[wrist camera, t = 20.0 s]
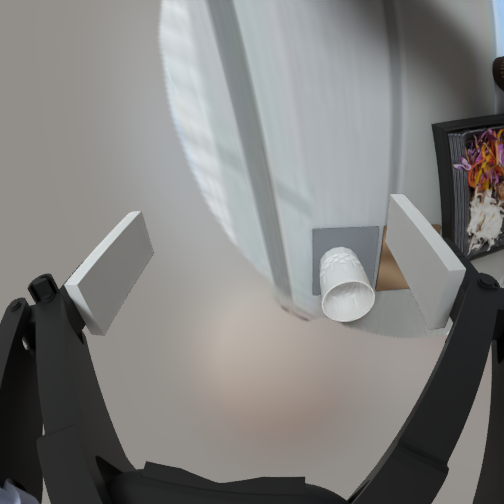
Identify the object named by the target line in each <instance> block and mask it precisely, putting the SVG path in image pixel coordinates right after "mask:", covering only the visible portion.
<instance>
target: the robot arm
mask: <svg viewBox="0 0 504 504" xmlns="http://www.w3.org/2000/svg"><path fill="white" fill-rule="evenodd" d="M385 242H386V244H387V246H388V248H389V249H390V251H391V253H392V255H393V257H394V259H395V261H396V262H397V264H398V266H399V268H400V270H401V272H402V274H403V276H404V278H405V280H406V282H407V284H408V286H409V288H410V290H411V292H412V294H413V296H414V298H415V301H416V303H417V305H418V307H419V309H420V311H421V314H422V316H423V318H424V320H425V323H426V325H427V327H428V329H429V330H433V329H439V328H445V326H446V324H447V321H448V319H449V316H450V317H451V319H452V321H453V326H452V328H451V330H450V332H449V335H448V337H447V339H446V341H445V345H444V347H443V350H442V352H441V354H440V357H439V359H438V361H437V363H436V365H435V367H434V369H433V371H432V373H431V376H430V378H429V380H428V382H427V384H426V385H425V387H424V389H423V391H422V393H421V395H420V397H419V399H418V400H417V402H416V404H415V406H414V408H413V409H412V411H411V413H410V415H409V416H408V418H407V420H406V422H405V423H404V425H403V426H402V428H401V430H400V431H399V433H398V434H397V436H396V437H395V439H394V440H393V442H392V443H391V445H390V446H389V448H388V449H387V451H386V452H385V454H384V455H383V456H382V458H381V459H380V461H379V462H378V463H377V465H376V466H375V467H374V469H373V470H372V471H371V473H370V474H369V475H368V476H367V477H366V479H365V480H364V481H363V482H362V483H361V485H360V486H359V487H358V488H357V489H356V491H355V492H354V493H353V494H352V495H351V496H350V498H349V499H348V500H347V501H346V500H345V499H344V498H342V497H341V496H339V495H338V494H336V493H334V492H332V491H330V490H327V489H325V488H322V487H319V486H316V485H311V484H306V483H305V477H260V478H254V479H248V480H242V481H235V482H227V483H217V482H213V481H211V480H208V479H205V478H203V477H200V476H198V475H195V474H193V473H190V472H188V471H186V470H183V469H181V468H176V467H170V466H165V465H161V464H156V463H152V462H147V461H146V463H145V467H144V469H137V470H136V469H135V468H134V467H133V465H132V464H131V463H130V462H129V460H128V459H127V457H126V455H125V453H124V451H123V448H122V446H121V444H120V441H119V439H118V437H117V434H116V432H115V429H114V427H113V424H112V421H111V419H110V416H109V413H108V411H107V408H106V405H105V402H104V399H103V396H102V393H101V390H100V387H99V384H98V381H97V377H96V374H95V370H94V367H93V363H92V360H91V356H90V353H89V349H88V345H87V340H86V336H85V335H84V333H83V331H82V329H83V328H84V326H85V325H86V326H87V328H88V329H89V331H90V332H91V334H93V335H102V336H104V335H105V334H106V332H107V330H108V329H109V327H110V325H111V323H112V321H113V320H114V318H115V316H116V315H117V313H118V311H119V309H120V308H121V306H122V304H123V303H124V301H125V299H126V298H127V296H128V294H129V293H130V291H131V289H132V288H133V286H134V284H135V283H136V281H137V280H138V278H139V276H140V275H141V273H142V272H143V270H144V268H145V267H146V265H147V264H148V262H149V261H150V259H151V258H152V256H153V254H154V251H153V248H152V245H151V241H150V238H149V235H148V232H147V229H146V225H145V221H144V218H143V214H142V211H135V212H130V213H129V214H128V215H127V216H126V217H125V218H124V219H123V220H122V221H121V222H120V223H119V224H118V225H117V226H116V227H115V228H114V229H113V230H112V231H111V232H110V233H109V234H108V235H107V236H106V238H105V239H104V240H103V241H102V242H101V243H100V244H99V245H98V246H97V247H96V248H95V249H94V251H93V252H92V253H91V254H90V255H89V256H88V257H87V258H86V260H85V261H83V262H82V263H81V264H80V265H79V266H78V268H77V270H75V271H74V272H73V273H72V275H71V276H70V277H69V278H68V279H67V281H66V282H65V283H64V284H63V286H62V287H61V288H60V289H58V287H57V285H56V283H55V281H54V279H53V277H52V275H51V274H43V275H41V276H39V277H37V278H35V279H34V280H33V281H32V282H31V283H30V285H29V286H28V290H29V292H30V294H31V296H32V298H33V299H34V301H35V302H36V305H31V306H29V304H28V303H27V301H26V299H25V298H18V299H15V300H14V301H12V302H11V303H10V305H9V306H8V307H7V309H6V311H5V314H4V316H3V319H2V321H1V323H0V504H41V502H42V491H43V478H44V481H45V485H46V488H47V492H48V496H49V499H50V502H51V504H431V503H432V502H433V500H434V498H435V497H436V495H437V493H438V491H439V490H440V488H441V486H442V485H443V483H444V481H445V479H446V477H447V474H448V471H449V468H448V466H447V463H448V460H449V458H450V456H451V454H452V452H453V450H454V448H455V446H456V443H457V441H458V439H459V437H460V434H461V432H462V430H463V428H464V425H465V423H466V420H467V418H468V415H469V413H470V410H471V408H472V405H473V402H474V399H475V396H476V393H477V391H478V387H479V384H480V381H481V378H482V375H483V371H484V368H485V364H486V361H487V357H488V352H489V349H490V345H491V346H492V387H491V405H490V416H489V425H488V433H487V441H486V447H485V453H484V459H483V464H482V468H481V473H480V477H479V481H478V485H477V489H476V493H475V497H474V500H473V504H504V288H500V285H499V283H498V282H497V280H495V279H494V278H493V277H492V276H490V275H488V274H484V273H478V272H477V270H476V269H475V268H474V266H473V265H472V264H471V262H470V261H469V260H468V259H467V257H465V255H464V254H463V252H461V250H460V249H459V247H458V246H457V245H456V244H455V243H454V242H452V241H451V240H449V239H448V238H441V236H440V235H439V234H438V233H437V231H436V230H435V229H434V228H433V227H432V226H431V224H430V223H429V222H428V221H427V220H426V219H425V218H424V216H423V215H422V214H421V213H420V212H419V211H418V210H417V209H416V207H415V206H414V205H413V204H412V203H411V202H410V201H409V200H408V199H407V198H406V197H405V196H404V195H403V194H390V200H389V212H388V222H387V231H386V240H385ZM22 339H23V341H24V342H25V343H26V345H27V349H25V347H24V345H23V341H22ZM491 343H492V344H491ZM43 424H44V430H45V435H43V436H42V432H43Z"/></svg>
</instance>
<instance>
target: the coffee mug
mask: <svg viewBox="0 0 504 504" xmlns="http://www.w3.org/2000/svg"><path fill="white" fill-rule="evenodd" d="M492 70H493V76H494V79H495V81H496V83H497V85H498V86H499V88H500V89H502V90H503V91H504V56H503V57H498V58H496V59H495V60H494V62H493V68H492Z"/></svg>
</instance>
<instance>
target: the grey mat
mask: <svg viewBox="0 0 504 504" xmlns="http://www.w3.org/2000/svg"><path fill="white" fill-rule="evenodd" d="M378 236H379V227H378V226H376V227H349V228H324V229H313V295H315V294H321V289H320V269H319V266H320V259H321V258H322V257H323V255H324V254H325V253H326V252H327V251H329V250H331V249H332V248H336V247H345V248H349V249H351V250H352V251H353V252H354V253H355V254H356V255H357V257H358V260H359V262H360V263H361V265H362V267H363V269H364V271H365V273H366V275H367V277H368V279H369V282H370V284H371V286H372V281H373V275H374V268H375V261H376V253H377V245H378Z"/></svg>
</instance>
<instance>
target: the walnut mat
mask: <svg viewBox="0 0 504 504" xmlns="http://www.w3.org/2000/svg"><path fill="white" fill-rule="evenodd" d="M431 226H432V227H433V228H434V229H435V230H436V231H437V233H438V234H440V229H441V226H440V225H431ZM386 231H387V226H384V230H383V239H382V247H381V254H380V262H379V268H378V275H377V281H376V287H375V290H376V291H379V290H391V289H403V288H409V286H408V284H407V282H406V280H405V278H404V276H403V274H402V272H401V270H400V268H399V266H398V264H397V262H396V261H395V259H394V257H393V255H392V253H391V251H390V249H389V248H388V246H387V244H386V242H385V240H386Z"/></svg>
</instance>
